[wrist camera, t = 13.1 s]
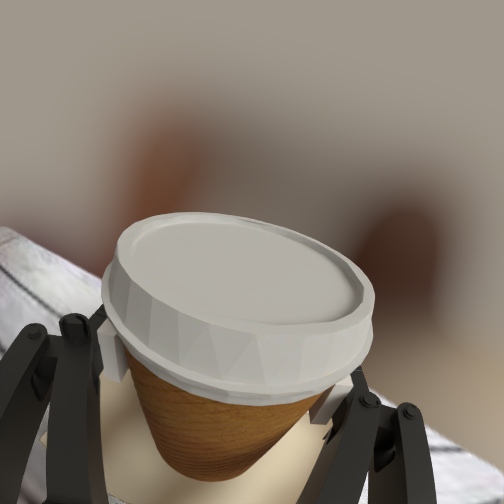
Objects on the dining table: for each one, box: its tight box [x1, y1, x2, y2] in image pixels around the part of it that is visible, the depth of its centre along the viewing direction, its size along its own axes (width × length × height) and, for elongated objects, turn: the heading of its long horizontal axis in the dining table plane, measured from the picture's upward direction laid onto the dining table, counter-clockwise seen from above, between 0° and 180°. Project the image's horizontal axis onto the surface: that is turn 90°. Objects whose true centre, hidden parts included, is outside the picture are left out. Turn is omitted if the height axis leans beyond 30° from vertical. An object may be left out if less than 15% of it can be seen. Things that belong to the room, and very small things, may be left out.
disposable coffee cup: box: [101, 212, 375, 482], centre depth 11 cm, size 10×10×12 cm
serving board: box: [39, 369, 333, 504], centre depth 15 cm, size 19×12×2 cm, turn 76°
